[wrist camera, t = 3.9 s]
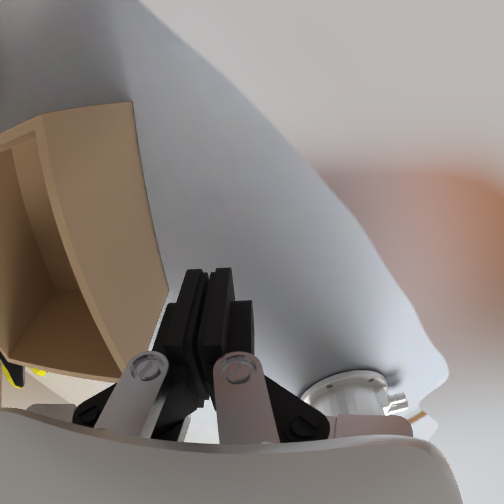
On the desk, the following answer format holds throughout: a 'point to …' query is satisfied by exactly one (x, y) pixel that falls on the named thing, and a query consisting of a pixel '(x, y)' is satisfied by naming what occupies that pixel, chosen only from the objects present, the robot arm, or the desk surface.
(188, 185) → the desk surface
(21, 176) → the carton
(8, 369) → the gaming controller
